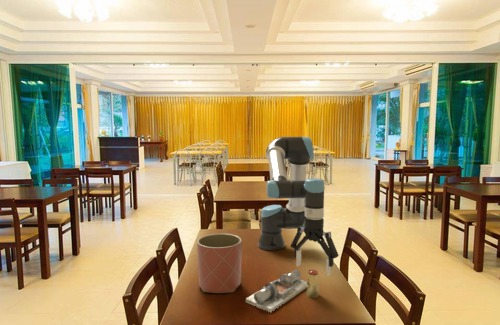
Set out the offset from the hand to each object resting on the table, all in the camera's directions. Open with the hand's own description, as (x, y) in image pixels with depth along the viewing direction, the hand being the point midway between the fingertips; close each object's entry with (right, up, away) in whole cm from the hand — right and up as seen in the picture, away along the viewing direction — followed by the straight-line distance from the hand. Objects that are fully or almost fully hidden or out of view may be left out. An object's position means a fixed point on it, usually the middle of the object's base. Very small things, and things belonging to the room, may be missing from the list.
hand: (313, 269), depth 136 cm
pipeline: (-14, -11, +2) cm, 17 cm away
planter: (-38, -10, +10) cm, 41 cm away
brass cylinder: (0, -11, +1) cm, 11 cm away
